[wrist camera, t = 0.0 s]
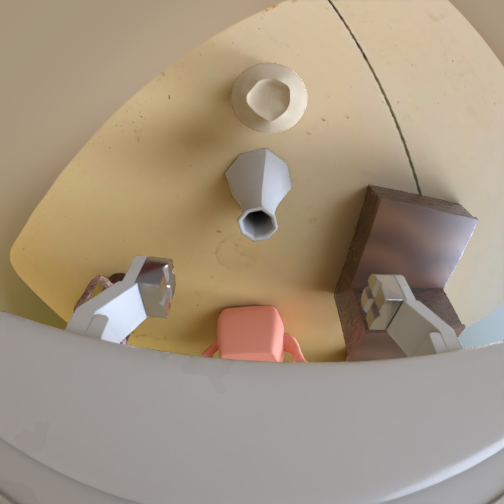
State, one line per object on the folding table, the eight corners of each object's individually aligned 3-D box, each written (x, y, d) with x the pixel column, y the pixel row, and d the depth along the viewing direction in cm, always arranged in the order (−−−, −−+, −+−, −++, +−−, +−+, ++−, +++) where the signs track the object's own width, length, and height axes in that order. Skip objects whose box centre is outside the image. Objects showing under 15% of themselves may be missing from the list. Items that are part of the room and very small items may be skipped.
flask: (213, 170, 30) (195, 212, 22) (269, 136, 27) (273, 166, 19) (249, 217, 34) (245, 271, 26) (302, 188, 31) (316, 237, 23)
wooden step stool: (367, 182, 30) (412, 243, 20) (462, 203, 30) (511, 256, 20) (332, 294, 41) (347, 364, 31) (417, 297, 41) (442, 354, 32)
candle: (292, 118, 26) (306, 140, 18) (238, 115, 26) (228, 135, 18) (295, 68, 23) (313, 66, 15) (240, 65, 23) (229, 60, 15)
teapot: (196, 303, 43) (184, 359, 35) (311, 295, 41) (321, 353, 33) (212, 344, 50) (206, 393, 41) (310, 338, 48) (316, 389, 40)
